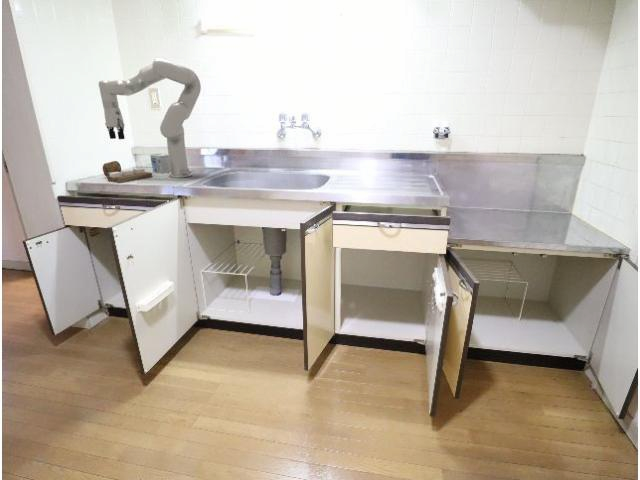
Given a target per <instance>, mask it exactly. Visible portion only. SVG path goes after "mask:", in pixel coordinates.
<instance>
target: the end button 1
mask: <svg viewBox="0 0 640 480" xmlns="http://www.w3.org/2000/svg"><path fill="white" fill-rule="evenodd" d="M109 175H110V177H120V176H122V173H121V172H112V173H109Z"/></svg>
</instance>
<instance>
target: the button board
mask: <svg viewBox="0 0 640 480" xmlns="http://www.w3.org/2000/svg"><path fill="white" fill-rule="evenodd" d="M106 178H107V182H110V181H111V182H110V183H116V182H117V184H121V183H127V182H133V181H134V182H135V181H139V180H144V179H149V178H150V179H151V178H153V173H152V172H147V171H145V172H144V173H134V174H132V175H122V176H120V177H110V176H108V177H106Z"/></svg>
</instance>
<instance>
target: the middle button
mask: <svg viewBox="0 0 640 480" xmlns="http://www.w3.org/2000/svg"><path fill="white" fill-rule="evenodd" d="M121 173H122V175H132V174H134V173H133V169H131V170H130V169H126V170H121Z"/></svg>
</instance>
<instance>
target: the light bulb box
mask: <svg viewBox="0 0 640 480" xmlns="http://www.w3.org/2000/svg"><path fill="white" fill-rule="evenodd" d="M150 161H151V168H152V172H154V173H158V174H168V173H171V167H170V161H169V154H167V153H166V154H164V153H155V154H150Z"/></svg>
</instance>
